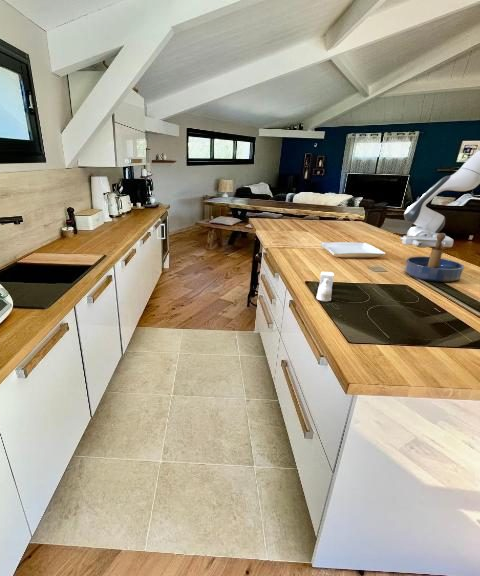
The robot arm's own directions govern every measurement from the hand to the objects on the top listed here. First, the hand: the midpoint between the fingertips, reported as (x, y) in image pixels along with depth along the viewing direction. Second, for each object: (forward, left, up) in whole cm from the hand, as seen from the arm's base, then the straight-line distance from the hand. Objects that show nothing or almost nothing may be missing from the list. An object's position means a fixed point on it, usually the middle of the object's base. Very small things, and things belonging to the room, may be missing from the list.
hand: (431, 244), depth 146 cm
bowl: (0, +10, -12) cm, 16 cm away
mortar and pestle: (0, +10, -11) cm, 15 cm away
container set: (+46, +48, -12) cm, 67 cm away
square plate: (+31, -22, -12) cm, 40 cm away
